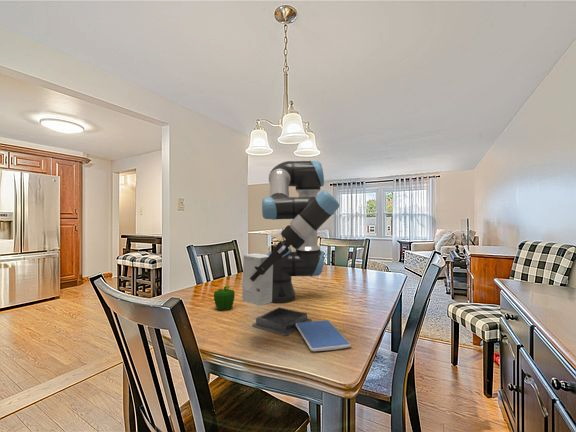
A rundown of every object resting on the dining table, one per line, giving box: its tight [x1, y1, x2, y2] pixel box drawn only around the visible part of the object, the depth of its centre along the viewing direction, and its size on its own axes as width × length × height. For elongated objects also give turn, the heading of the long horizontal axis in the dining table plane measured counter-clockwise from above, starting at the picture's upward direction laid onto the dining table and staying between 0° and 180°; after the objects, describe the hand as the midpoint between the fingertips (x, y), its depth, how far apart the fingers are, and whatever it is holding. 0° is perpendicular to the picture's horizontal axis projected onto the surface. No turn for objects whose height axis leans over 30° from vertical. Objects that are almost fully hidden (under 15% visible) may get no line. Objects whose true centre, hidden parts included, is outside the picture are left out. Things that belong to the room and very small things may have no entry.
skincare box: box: [241, 252, 273, 307], centre depth 92 cm, size 8×6×15 cm
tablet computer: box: [295, 319, 352, 352], centre depth 94 cm, size 19×13×1 cm, turn 13°
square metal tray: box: [251, 307, 312, 337], centre depth 107 cm, size 15×16×3 cm
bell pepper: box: [213, 285, 236, 311], centre depth 125 cm, size 8×8×10 cm
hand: (247, 283), depth 93 cm, fingers closed on skincare box, 9 cm apart
